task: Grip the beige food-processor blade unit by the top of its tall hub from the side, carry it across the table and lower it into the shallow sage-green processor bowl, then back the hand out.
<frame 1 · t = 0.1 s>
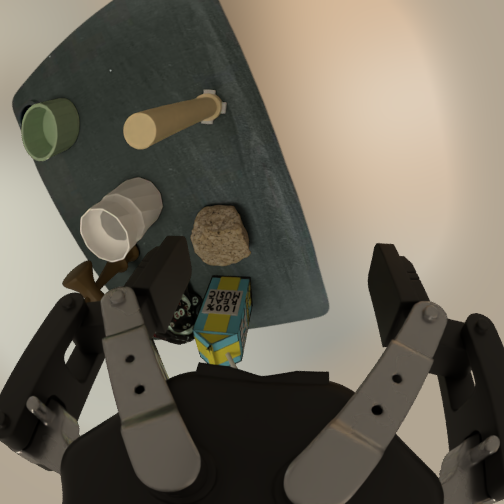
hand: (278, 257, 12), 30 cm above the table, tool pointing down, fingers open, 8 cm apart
processor bowl: (60, 124, 39), on the table
vase: (141, 200, 46), on the table
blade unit: (208, 106, 36), on the table
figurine: (174, 297, 57), on the table
kendama: (129, 247, 52), on the table
carton: (235, 290, 54), on the table
rock: (224, 229, 47), on the table
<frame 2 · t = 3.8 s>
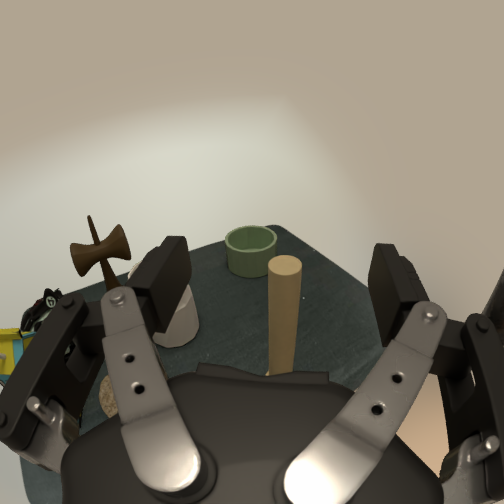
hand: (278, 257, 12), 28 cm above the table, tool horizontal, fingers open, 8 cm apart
processor bowl: (252, 262, 60), on the table
vase: (174, 329, 46), on the table
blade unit: (279, 382, 36), on the table
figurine: (64, 347, 41), on the table
kendama: (125, 313, 49), on the table
carton: (64, 409, 31), on the table
rock: (140, 405, 33), on the table
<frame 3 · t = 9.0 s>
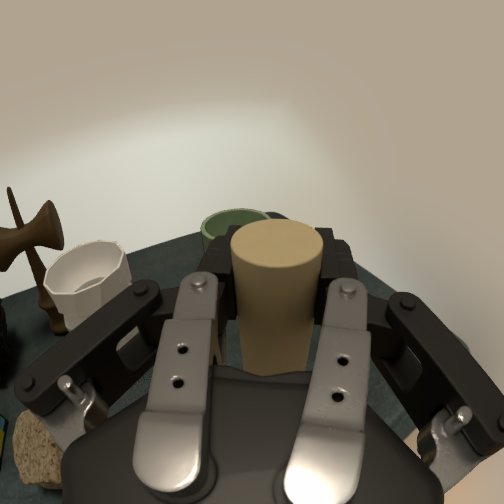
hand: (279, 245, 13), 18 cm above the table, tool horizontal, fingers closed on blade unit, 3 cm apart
processor bowl: (239, 258, 44), on the table
vase: (122, 350, 29), on the table
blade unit: (271, 445, 20), on the table, touching gripper
kendama: (67, 324, 33), on the table
rock: (66, 458, 17), on the table
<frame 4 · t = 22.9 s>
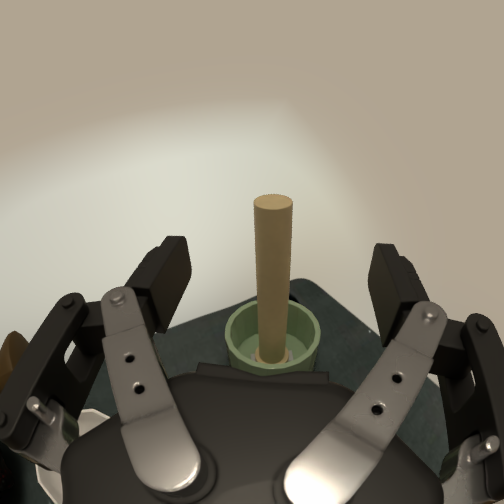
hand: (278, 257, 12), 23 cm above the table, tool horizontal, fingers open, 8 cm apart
processor bowl: (272, 361, 33), on the table
vase: (144, 494, 19), on the table
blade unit: (271, 359, 33), point 1 cm above the table, touching processor bowl
kendama: (68, 445, 22), on the table
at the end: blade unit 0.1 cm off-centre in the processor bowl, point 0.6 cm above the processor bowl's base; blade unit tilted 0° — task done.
